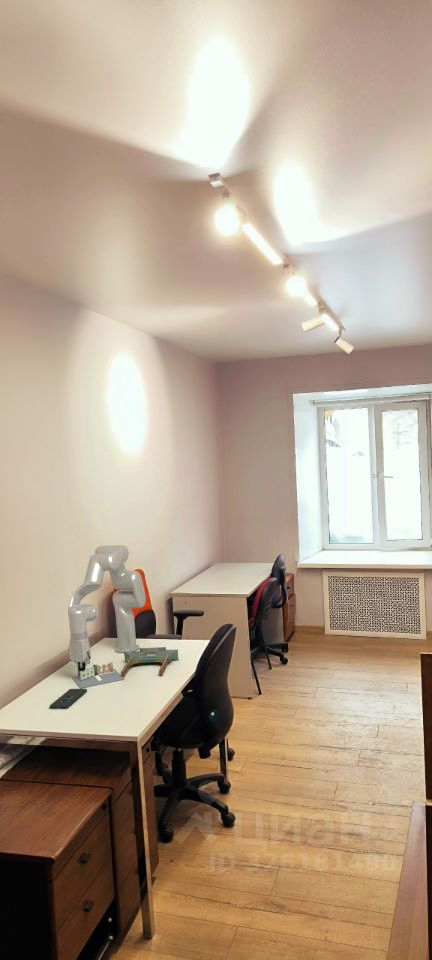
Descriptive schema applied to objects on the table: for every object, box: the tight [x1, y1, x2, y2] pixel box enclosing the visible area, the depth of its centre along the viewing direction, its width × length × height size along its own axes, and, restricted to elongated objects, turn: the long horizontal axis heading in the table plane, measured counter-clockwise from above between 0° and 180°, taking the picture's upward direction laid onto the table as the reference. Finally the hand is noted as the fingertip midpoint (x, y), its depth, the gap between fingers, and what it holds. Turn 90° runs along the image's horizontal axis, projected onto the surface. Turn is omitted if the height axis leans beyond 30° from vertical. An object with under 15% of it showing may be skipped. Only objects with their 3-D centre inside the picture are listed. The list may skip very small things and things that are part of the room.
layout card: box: [72, 668, 125, 689], centre depth 287 cm, size 17×20×1 cm
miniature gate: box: [120, 646, 180, 678], centre depth 300 cm, size 27×6×30 cm
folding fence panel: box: [80, 666, 94, 680], centre depth 287 cm, size 8×1×4 cm, turn 142°
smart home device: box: [49, 688, 88, 710], centre depth 263 cm, size 8×2×20 cm
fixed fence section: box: [92, 661, 114, 676], centre depth 293 cm, size 9×2×5 cm, turn 114°
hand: (82, 675), depth 288 cm, fingers closed
